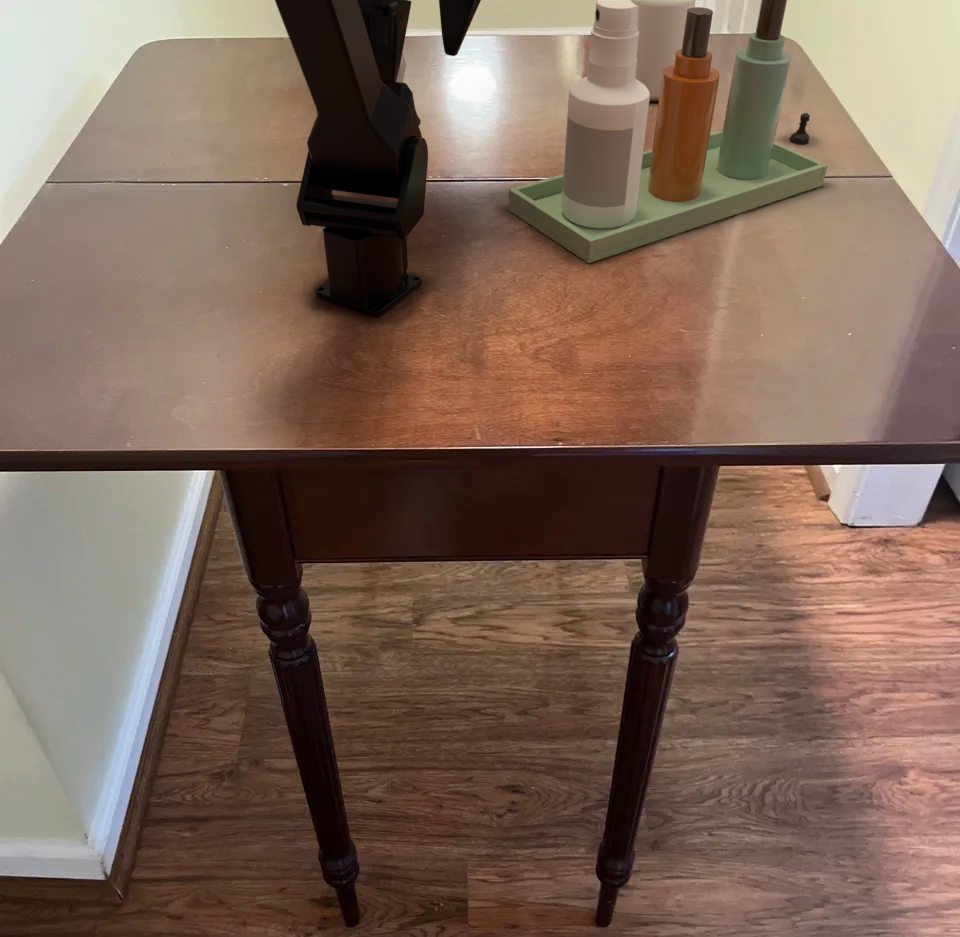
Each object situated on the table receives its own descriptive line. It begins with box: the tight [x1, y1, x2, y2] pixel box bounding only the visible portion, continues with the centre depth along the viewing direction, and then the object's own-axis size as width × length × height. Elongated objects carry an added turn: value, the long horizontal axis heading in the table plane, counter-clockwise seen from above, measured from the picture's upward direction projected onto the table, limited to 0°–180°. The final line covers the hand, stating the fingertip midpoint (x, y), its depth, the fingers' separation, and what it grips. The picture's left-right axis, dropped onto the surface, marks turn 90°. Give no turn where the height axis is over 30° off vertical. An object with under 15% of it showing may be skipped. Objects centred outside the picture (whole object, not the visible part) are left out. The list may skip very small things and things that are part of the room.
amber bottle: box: [648, 6, 721, 202], centre depth 87 cm, size 5×5×16 cm
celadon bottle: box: [717, 0, 792, 180], centre depth 90 cm, size 5×5×16 cm
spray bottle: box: [562, 0, 650, 228], centre depth 82 cm, size 7×7×18 cm
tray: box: [507, 128, 829, 264], centre depth 91 cm, size 29×12×2 cm, turn 123°
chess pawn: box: [789, 112, 811, 145], centre depth 102 cm, size 2×2×3 cm
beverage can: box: [630, 0, 696, 102], centre depth 110 cm, size 8×8×12 cm
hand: (420, 69), depth 81 cm, fingers open, 9 cm apart
